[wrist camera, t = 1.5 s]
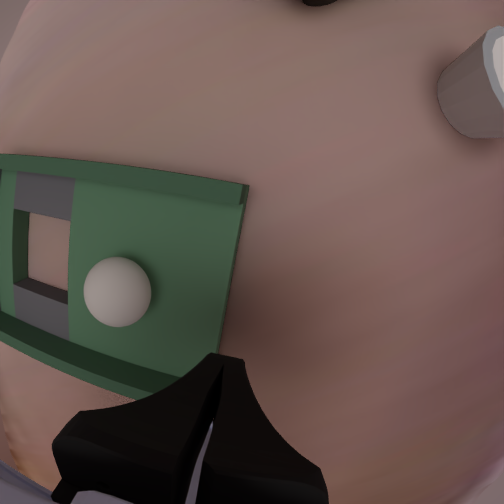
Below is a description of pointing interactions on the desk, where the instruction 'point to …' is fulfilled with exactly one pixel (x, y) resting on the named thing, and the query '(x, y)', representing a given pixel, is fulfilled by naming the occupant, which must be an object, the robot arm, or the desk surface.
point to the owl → (317, 2)
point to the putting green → (119, 245)
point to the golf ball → (117, 291)
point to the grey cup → (476, 88)
